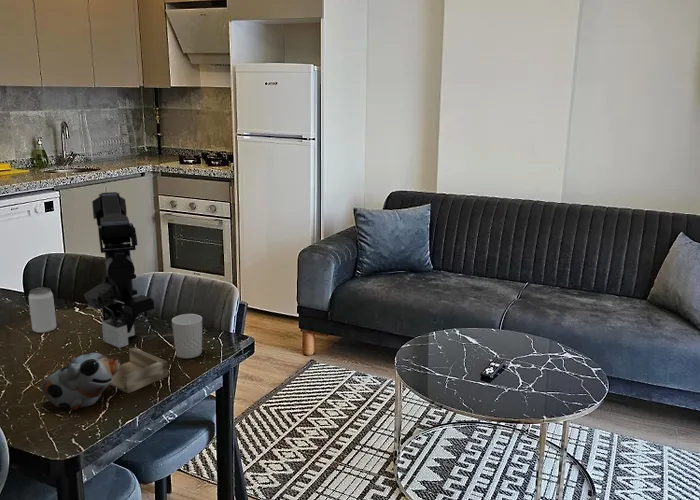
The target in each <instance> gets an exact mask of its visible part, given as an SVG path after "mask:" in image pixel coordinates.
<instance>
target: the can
mask: <svg viewBox="0 0 700 500" xmlns="http://www.w3.org/2000/svg"><path fill="white" fill-rule="evenodd" d="M28 292H29V294H28V305H29V313H30V320H31V322H30V323H31V330H32V331H33V332H34V333H37V334H43V333H50V332H53V331H55V329H56V328H57V318H56V310H55V302H54V301H55V300H54V293H53V292H52V290H51V288H50V287H49V288H48V287H37V288H34V289H31V290H29V291H28Z"/></svg>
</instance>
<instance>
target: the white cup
mask: <svg viewBox="0 0 700 500" xmlns="http://www.w3.org/2000/svg"><path fill="white" fill-rule="evenodd" d="M171 326H172V336H173V341H174V347H175V355H176V356H177V358H179V359H192V358H196V357H199V356H201V354H202V352H203V346H202V345H203V317H202V316H201V315H199V314H196V313H184V314H179V315H176V316H175V317H172V318H171Z"/></svg>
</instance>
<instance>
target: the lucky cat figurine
mask: <svg viewBox="0 0 700 500" xmlns="http://www.w3.org/2000/svg"><path fill="white" fill-rule="evenodd" d="M69 362H70V363H69V364H68V365H67V366H65V367H61V368H59V369H58V370H56V371H55V372H54V373H52V374H50V375H49V376H47V378H46V379H44V381H42V383H41V385H40V390H41V392H42V394H43V395H44V396H45V397H46V398H47V400H48V401H49V402H50V403H51V404H53V405H54V406H56V407H57V408H63V407H65V408H66V409H67V410H68V411H75V410H79V409H83V408H86V407H89V406H93V405H94V404H96V403H97V401H98V400H99V399H100V398H101V395H102V393H103V392H104V391H105V390H106V389H107V388H108V387H109V386H110V382H111V380H112V378H113V376H114V375H115V373H116V372H117V371H118V370H119V365H121V361H120V359H119V358H118V357H112V358H109V357H107V356H106V355H104V354H101V353H99V352H90V353H88V354H81V355H79V356H77V357H72V358H71V359H70V360H69Z"/></svg>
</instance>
